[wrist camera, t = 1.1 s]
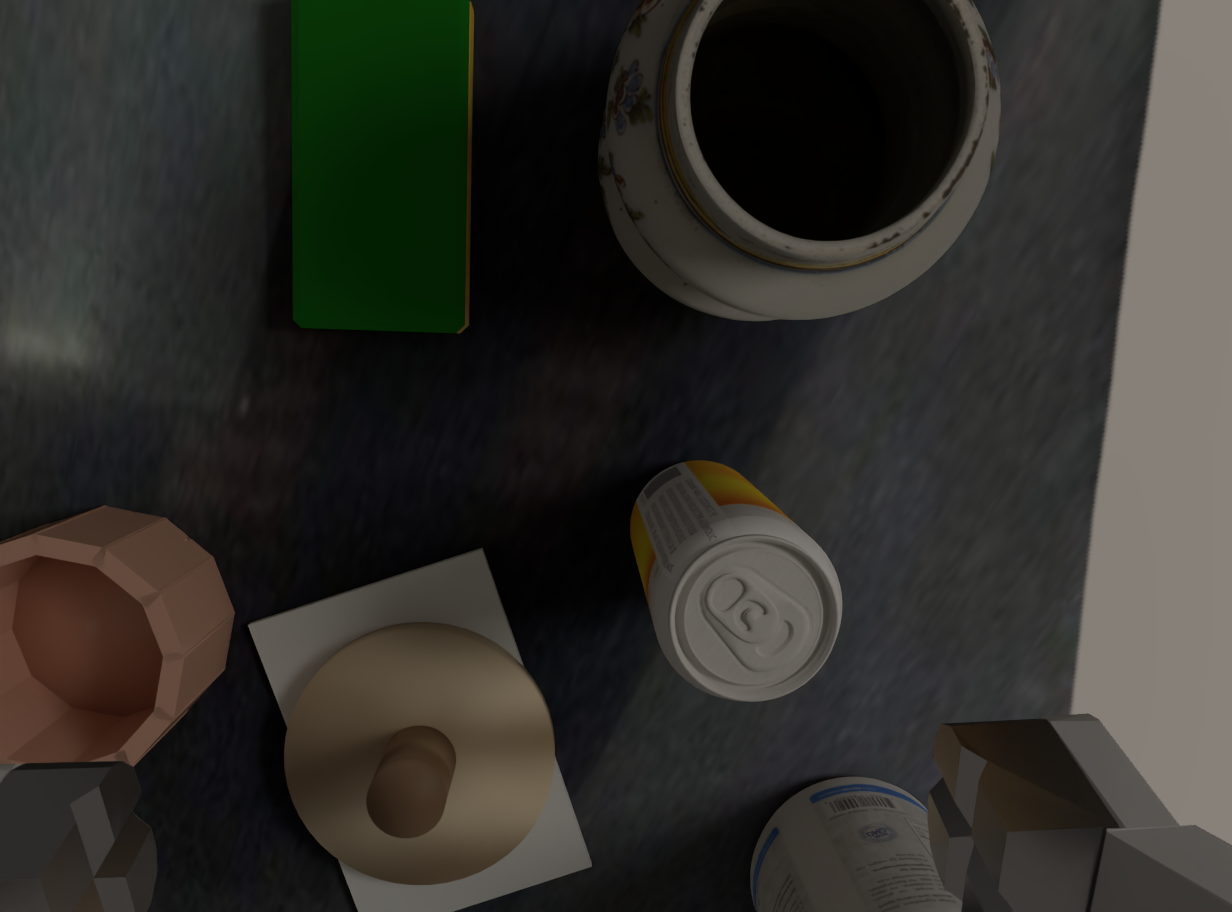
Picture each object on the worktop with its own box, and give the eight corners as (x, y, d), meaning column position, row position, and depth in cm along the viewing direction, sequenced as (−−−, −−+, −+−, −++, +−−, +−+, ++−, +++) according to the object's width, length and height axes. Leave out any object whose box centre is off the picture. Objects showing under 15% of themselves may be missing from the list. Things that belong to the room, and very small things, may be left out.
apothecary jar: (536, 196, 44) (513, 110, 26) (719, -24, 43) (823, -268, 25) (744, 377, 45) (856, 412, 28) (925, 167, 45) (1161, 64, 27)
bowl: (264, 686, 46) (219, 740, 40) (53, 754, 46) (-23, 818, 40) (184, 479, 45) (125, 503, 39) (-33, 549, 45) (-125, 584, 39)
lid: (588, 825, 48) (591, 885, 42) (344, 904, 47) (316, 975, 42) (506, 587, 46) (498, 620, 41) (253, 669, 46) (212, 713, 41)
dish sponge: (307, 327, 45) (292, 327, 42) (306, -3, 43) (289, -22, 41) (469, 333, 45) (463, 333, 43) (475, 6, 43) (469, -13, 41)
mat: (591, 862, 48) (591, 866, 48) (370, 933, 48) (368, 938, 48) (482, 547, 46) (481, 549, 46) (250, 622, 46) (247, 625, 46)
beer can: (696, 616, 47) (754, 752, 32) (601, 526, 46) (615, 623, 31) (789, 521, 46) (892, 616, 32) (695, 430, 46) (754, 482, 31)
